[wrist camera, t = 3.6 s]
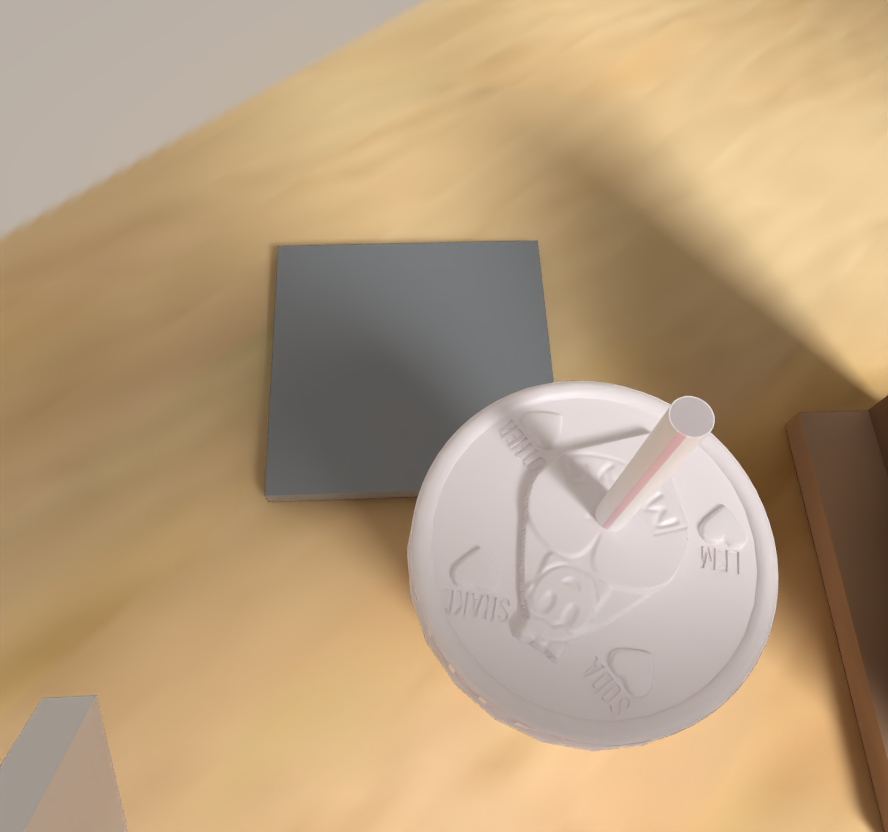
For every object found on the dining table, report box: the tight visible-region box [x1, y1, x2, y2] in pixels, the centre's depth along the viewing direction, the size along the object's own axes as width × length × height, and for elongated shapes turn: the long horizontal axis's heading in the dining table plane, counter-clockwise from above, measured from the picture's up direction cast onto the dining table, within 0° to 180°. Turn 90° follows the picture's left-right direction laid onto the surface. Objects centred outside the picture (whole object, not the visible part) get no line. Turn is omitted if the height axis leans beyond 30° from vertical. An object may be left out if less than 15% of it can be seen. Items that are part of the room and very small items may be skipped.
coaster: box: [265, 241, 554, 502], centre depth 25 cm, size 9×9×1 cm
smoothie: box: [407, 381, 778, 751], centre depth 15 cm, size 6×6×14 cm
